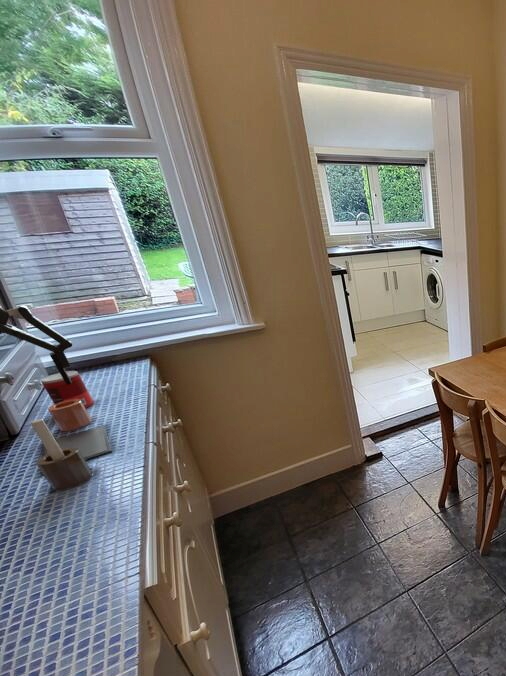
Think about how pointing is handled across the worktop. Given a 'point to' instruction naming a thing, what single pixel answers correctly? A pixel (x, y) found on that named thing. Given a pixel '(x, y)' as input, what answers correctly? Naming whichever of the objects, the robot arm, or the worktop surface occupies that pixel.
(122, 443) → the worktop surface
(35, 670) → the worktop surface
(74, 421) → the pen holder
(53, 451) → the cream long square bar
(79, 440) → the tablet
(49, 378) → the canned food
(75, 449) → the stand
